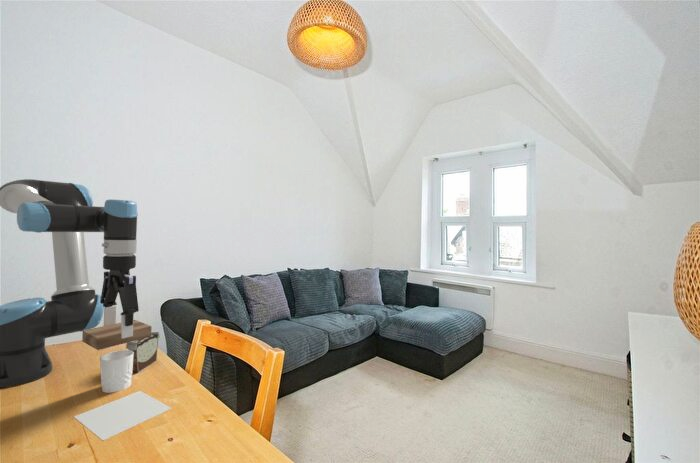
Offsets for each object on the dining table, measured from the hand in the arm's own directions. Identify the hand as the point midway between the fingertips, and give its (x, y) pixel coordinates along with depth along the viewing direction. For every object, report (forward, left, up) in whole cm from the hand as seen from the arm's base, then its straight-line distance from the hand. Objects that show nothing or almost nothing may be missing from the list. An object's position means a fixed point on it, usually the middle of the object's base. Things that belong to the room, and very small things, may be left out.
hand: (117, 332), depth 90 cm
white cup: (-2, +1, -17) cm, 18 cm away
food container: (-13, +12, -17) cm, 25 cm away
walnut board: (0, 0, -2) cm, 2 cm away
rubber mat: (+14, -4, -17) cm, 22 cm away
